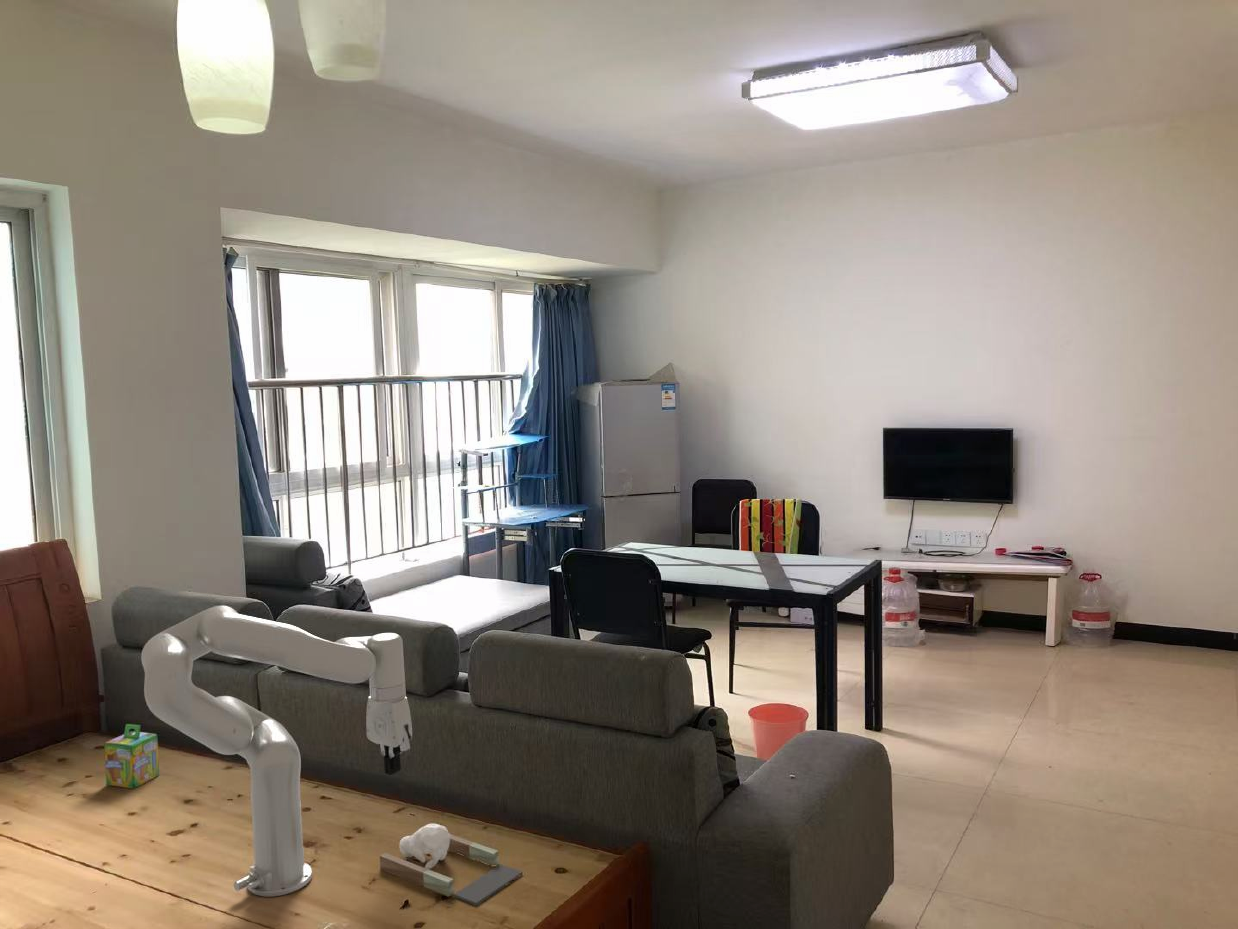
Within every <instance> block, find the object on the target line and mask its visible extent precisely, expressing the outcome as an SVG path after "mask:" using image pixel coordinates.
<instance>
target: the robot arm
mask: <svg viewBox="0 0 1238 929" xmlns="http://www.w3.org/2000/svg"><path fill="white" fill-rule="evenodd" d="M403 644H404V642H403V638H402V637H401V635H399V634H397V633H395V632H383V633H377V634H374V635H372V636H350V637H349V636H348V637H343V638H340V639H337V640H336V641H330V640H327V639H324V638H322V637H321V638H320V637H318V636H316V635H313V634H311V633H309V632H307V631H306V630H304V629H301V628H300V627H297V626H295V625H292V624H288V623H286V622H285V623H284V622H280V621H279V622H278V621H274V620H269V619H264V618H259V617H255V616H250V615H246V614H242V613H238V612H237V611H236V610H235V609H234V608H233V607H231V606H227V605H215V606H212V607H209V608H206V609H205V610H202V611H201V612H198V613H196V614H194V615H192V616H190V617H188V618H187V619H185V620H183V621H181V622H179V623H177V624H174V625H173V626H170V627H168V628H166V629H165V630H162V631H161V632H159V633H157V634H155V635H154V636H152V637H151V638H150V639H149V640H148V641H147V642H146V643H145V644H144V646H143V648H142V651H141V657H140V659H141V664H142V667H143V671H144V684H143V685H144V686H143V687H144V688H143V692H144V693H143V694H144V699H145V702H146V706H147V707H148V709H149V711H151V713H152V714H153V715H154V716H155V717H156V718H157V719H159V720H160V721H162V722H163V723H165V724H166V725H169V726H170V727H172V728H174V729H176V730H178V731H179V732H181V733H183V734H184V735H185V736H188V737H190V738H191V739H192V740H195V741H197V742H198V743H200V744H202V745H204V746H206V747H207V748H208V749H210V750H212V751H213V752H214V753H218V754H221V755H226V756H228V755H229V756H231V755H233V756H234V755H236V754H237V755H239V756H241V757H242V758H244V759H245V760H246V763H247V765H248V766H249V770H250V779H251V780H250V783H251V784H250V805H251V808H250V809H251V818H252V832H253V833H252V836H253V854H254V864H253V865H251V866H250V867H249V870H250V872H248V873H247V874H246V876H244V877H242V878H240V879H237V880H235V881H234V882H233V889H234V890H235V891H237V892H238V891H241V890H242V889H244V888H247V891H249V892H250V893H252V894H253V895H256V896H259V897H269V898H270V897H271V898H273V897H279V896H283V895H287V894H292V893H294V892H296V891H298V890H301V889H302V888H304V886H307V884H308V883H309V882H310V881H311V880H312V877H313V869H312V866H310V865H309V864H308V863H306V862H305V858H304V842H303V840H304V839H303V822H302V821H303V820H302V805H301V804H302V803H301V784H300V783H301V768H302V765H301V764H302V761H301V759H302V758H301V754H300V749H299V747H298V744H297V743H296V741H295V740H294V738H293V737H292V735H291V734H290V733H289V732H288V731H287V729H286V728H285V727H284V725H282V724H281V723H280V722H279V721H277V720H275V719H274V718H272V717H270V716H268V714H266V713H263V712H262V711H259V710H258V709H256V708H254V707H253V706H251V705H249V704H248V703H246V702H244V701H243V700H241V699H238V698H236V697H233V696H229V695H220V696H216V697H215V696H214V695H212V694H210V693H209V692H208V691H206V690H204V689H202V688H200V687H198V686H196V685H194V683H193V681H192V674H193V668H194V667H193V666H194V661H196V660H197V659H200V658H201V657H203V656H205V655H208V654H209V653H210V652H212V653H213V654H217V655H219V656H223V657H228V658H235V659H240V660H246V661H249V662H250V661H251V662H255V663H256V662H257V663H261V664H268V665H272V666H273V665H274V666H278V667H281V668H285V669H286V670H287V669H288V670H291V671H295V672H299V673H302V674H305V675H306V674H307V675H310V676H313V677H317V678H321V679H325V680H331V681H336V682H341V683H347V684H360V683H364V682H366V681H367V680H369V685H368V686H369V696H368V699H367V704H366V716H365V717H366V720H365V721H366V722H365V723H366V724H365V725H366V737H367V739H368V740H369V741H371V742H373V743H374V744H376V745H378V747H379V748H380V752H381V753H380V754H381V755H382V756H383V765H384V773H385V774H386V775H390V776H392V775H394V774H396V773H398V772H400V771H401V768H402V766H401V754H402V753H403V752H406V751H409V750H410V749H411V745H410V742H411V740H412V738H413V726H412V717H411V710H410V705H409V701H408V697H407V694H406V677H405V674H406V673H405V660H404V659H405V658H404V645H403Z"/></svg>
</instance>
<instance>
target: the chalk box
mask: <svg viewBox="0 0 1238 929" xmlns="http://www.w3.org/2000/svg"><path fill="white" fill-rule="evenodd" d="M132 729H133V731H132ZM130 730H131V731H130ZM123 732H124V733H123V734H122V735H119V736H117V737H115V738H112V739H110V740H108V741H105V742H104V755H105V757H104V758H105V777H106V778H105V780H106V781H105V784H106V786H112V787H113V786H114V787H119V788H127V789H133V790H134V789H136V788H138V787H140V786H141V785H144V784H146V783H147V782H149V781H151V780H153V779H155V778H157V777H159V776H160V765H159V764H160V762H159V760H160V759H159V743H158V742H159V741H158V739H159V738H158V735H157V734H156V733H153V732H152V733H151V732H145V731H141V725H140V724H133V723H132V724H131V723H125V727H124V731H123Z"/></svg>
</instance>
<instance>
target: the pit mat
mask: <svg viewBox="0 0 1238 929" xmlns="http://www.w3.org/2000/svg"><path fill="white" fill-rule="evenodd" d="M522 873H523V871H521V870H519V869H516V868H513V867H510V866H507V865H504V864H502V863H499V865H497V866H496V867H493V868H492V869H490V870H489V871H488V872H486V873H484V874H482V876H480V877H478V878H477V879H475V880H473V881H472V882H470V883H469V884H467V885H466V886H464V887H463V888H461V889H459V890H458V891H457V892H454V894H453V897H454V898H455V899H458V900H461V901H463V902H465V903H468V904H471V905H473V906H476V907H477V906H478V905H480V904H481V903H483V902H484V901H486V900H487V899H489V898H491V897H492V896H493V895H495V894H496V893H498V892H499V891H500V889H501V890H502V889H504V888H505V887H506V886H507V885H506V884H507V883H509V882H511V881H512V880H513V879H514V878H516V877H518V876H519V875H521V874H522ZM521 876H522V875H521ZM518 878H519V877H518ZM512 882H513V881H512ZM512 882H511V883H512ZM509 884H510V883H509ZM505 885H506V886H505ZM504 886H505V887H504ZM497 891H498V892H497Z"/></svg>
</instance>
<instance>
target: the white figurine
mask: <svg viewBox="0 0 1238 929" xmlns="http://www.w3.org/2000/svg"><path fill="white" fill-rule="evenodd" d="M450 834H451V833H450V832H449V831H448V828H447V827H446V826H444V825H442V824H441V825H440V824H437V823H428V824H426V825H424V826H422V827H420V828H419V829H418V830H417V831H415V832H414V833H413V834H412V835H407V836H404V837H402V838H401V839H400V841H399V845H398V846H399V847H398V848H399V851H400V852H401V853H402V854H401V856H402V857H403V858H404V860H407V858H413V856H414V858H416V859H417V860H419V861H420V862H421V863H425V862H426V857H425V855H428V854H429V856H431V858H432V859H430V860H429V861H427V863H426V864H425V865H424V868H426V869H429V870H431V869H433V868H434V867H435V866H436V865H437V863H438V861H443V860H444V859H445V858H446V856H447V854H448V851H447V850H448V848H449V843H450V838H451V836H450Z"/></svg>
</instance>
